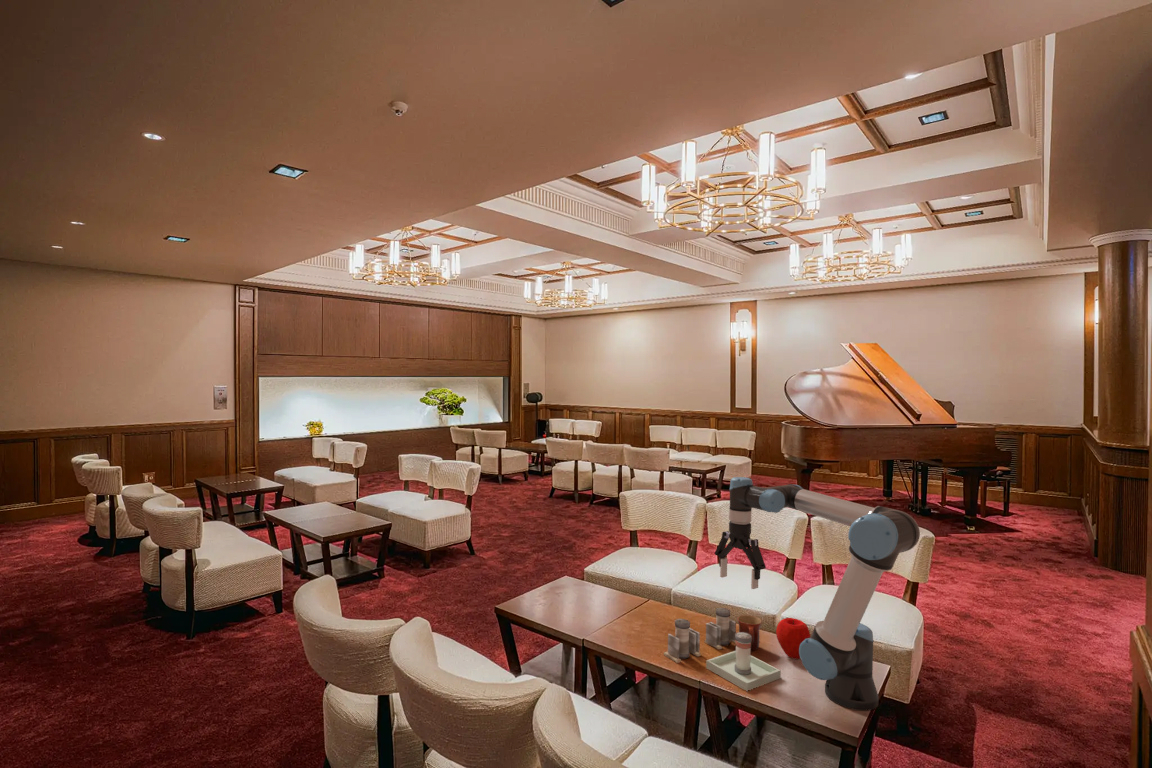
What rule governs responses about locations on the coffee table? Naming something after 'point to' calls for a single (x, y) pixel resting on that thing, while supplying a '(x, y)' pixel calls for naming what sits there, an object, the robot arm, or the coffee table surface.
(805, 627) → the apple
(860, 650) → the robot arm
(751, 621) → the mug
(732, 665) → the tray
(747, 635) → the cylinder
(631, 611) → the coffee table surface
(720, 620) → the clip rack
